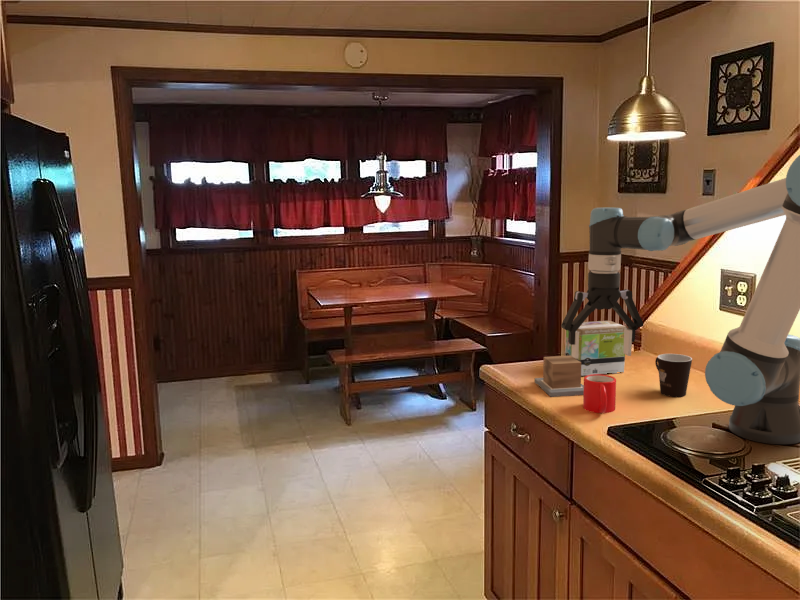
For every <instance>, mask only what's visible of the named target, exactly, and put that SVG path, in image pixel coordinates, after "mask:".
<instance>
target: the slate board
mask: <svg viewBox="0 0 800 600" xmlns="http://www.w3.org/2000/svg"><path fill="white" fill-rule="evenodd" d="M534 383H535V384H536V385H537V384H538V385H539V386H540V387H541V388H540V387H539V386H538V385H537V386H538V387H539V388H540V389H541V390H542V391H544V392H545V393H546V394H547V395H548V396H549V397H553V398H554V397H567V396H568V397H570V396H583V393H584V384H582V383H581V387H575V388H559V389H552V388H551V387H550V386H549V385H548V384H547V383H545V382H544V381H543V377H535V378H534Z"/></svg>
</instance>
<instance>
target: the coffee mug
mask: <svg viewBox="0 0 800 600" xmlns="http://www.w3.org/2000/svg"><path fill="white" fill-rule="evenodd" d="M692 361H693V357H691V356H689V355H685V354H680V353H679V354H678V353H663V354H658V355H657V357H655V363H654V364H655V367H656V369H657V371H658V377H659V378H658V379H659V390H660V394H661V395H663V396H665V397H668V398H669V397H670V398H683V397H686V395H687V390H688V384H689V379H690V373H691V367H692Z"/></svg>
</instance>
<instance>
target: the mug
mask: <svg viewBox="0 0 800 600" xmlns="http://www.w3.org/2000/svg"><path fill="white" fill-rule="evenodd" d="M583 385H584V393H583V395H582V396H583V399H582V400H583V401H582V402H583V404H582V405H583V406H582V407H583V409H584V410H585V411H587V412H590V413H597V414H609V413H614V412H615V411H616V400H617V399H616V398H617V378H615V377H614V376H612V375H610V374H609V375H608V374H592V375H585V376H584V377H583Z"/></svg>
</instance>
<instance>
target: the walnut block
mask: <svg viewBox="0 0 800 600" xmlns="http://www.w3.org/2000/svg"><path fill="white" fill-rule="evenodd" d="M542 361H543V364H542V366H543V370H542V371H543V372H542V373H543V374H542V375H543V376H542V378H543V381H544V382H545V383H547V384H548V385H549V386H550V387H551V388H552V389H559V388H575V387H581V384H582V376H581V362H580V361H578V360H577V359H575V358H574V357H572V356H565V355H555V356H553V355H552V356H543V360H542Z"/></svg>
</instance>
